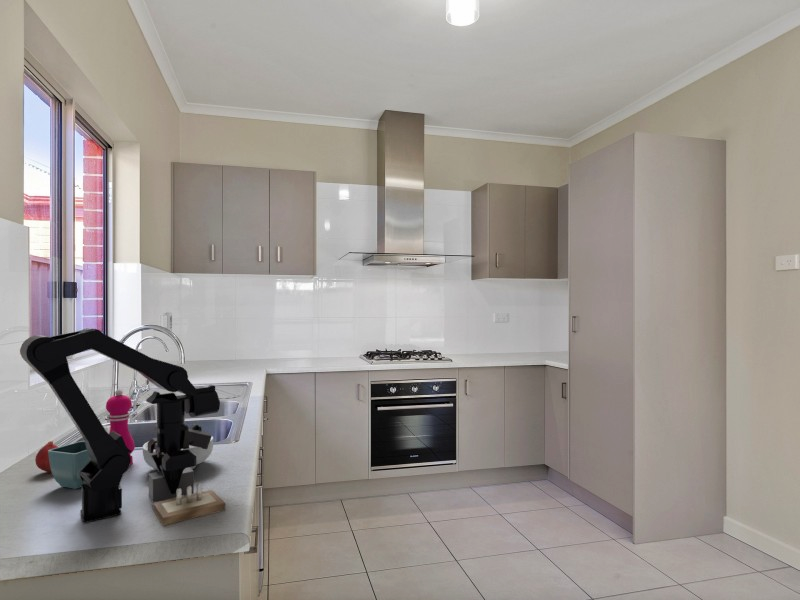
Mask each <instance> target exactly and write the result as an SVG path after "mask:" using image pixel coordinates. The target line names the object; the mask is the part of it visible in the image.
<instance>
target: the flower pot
mask: <svg viewBox="0 0 800 600" xmlns="http://www.w3.org/2000/svg"><path fill="white" fill-rule="evenodd" d="M48 455H49V461H50V467H51V475H52V476H53V478H54V480H55V481H56V483H58V484H59V486H60V487H64V488H70V489H74V490H75V489H76V490H77V489H80V488H82V484H86V483H85V482H83V481H82V480H81V478H80V476H79V472H80V470H81V469H82V468H83V467H84V466H85V465H86V464H87V463H88V462H89V461H90V458H89V455H88V452H87V449H86V444H85V440H80V441H76V442H73V443H70V444H69V443H68V444H66V445H63V446H62V445H61V446H58V448H54V449H51V450H48Z"/></svg>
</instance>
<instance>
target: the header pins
mask: <svg viewBox="0 0 800 600" xmlns="http://www.w3.org/2000/svg"><path fill="white" fill-rule="evenodd" d="M202 486H203V485H202V483H198V484H196V493H197V501H201V500H202V492H203V491H202V489H203V487H202ZM175 498H176V505H177V506H180V505H182V490H181V488H178V489H177V490H176V497H175ZM191 502H192V487H191V486H188V487H187V503H191Z"/></svg>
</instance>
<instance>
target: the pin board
mask: <svg viewBox="0 0 800 600" xmlns="http://www.w3.org/2000/svg"><path fill="white" fill-rule="evenodd" d="M152 504H153V505H152V510H153V512H154V514H155V515H156V517H157V518H158V519H159V521H160V523H161V524H162V526H167V525H171V524H175V523H178V522H182V521H186V520H190V519H194V518H200V517H202V516H207V515H211V514H215V513H218V512H222V511H226V502H225V501H224V500H223V499H222V498H221V497H220V496H219V495H218V494H217V493H216V492H215V491H214V490H213V489H207V490H205V491H202V500H201V501H197V492H195V493H193V494H192V502H191V503H187V495H184V496H182V505H180V506H177V505H176V497H175V498H171V499H166V500H162V501H157V502H152Z"/></svg>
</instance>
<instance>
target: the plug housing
mask: <svg viewBox="0 0 800 600" xmlns="http://www.w3.org/2000/svg"><path fill="white" fill-rule="evenodd" d="M194 472H195V471H194V470H193V469H191V468H190V467H188V468H185V469H184V470H183V473H182V476H181V479H180V483H179V486H178V488H181V490H182V496H186V495H187V487H188V486H191V487H192V494H195V493H194V489H195V487H194V486H195V485H194ZM148 497H149V499H150V500H151V502H152V503H155V502H159V501H164V500H168V499H173V498H176V493H175V494H171V492H170V490H169V487H168V485H167V483H166V480H165V478H164V475H163V473H162V471H155V472H154V471H153V472H151V473H148Z"/></svg>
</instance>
